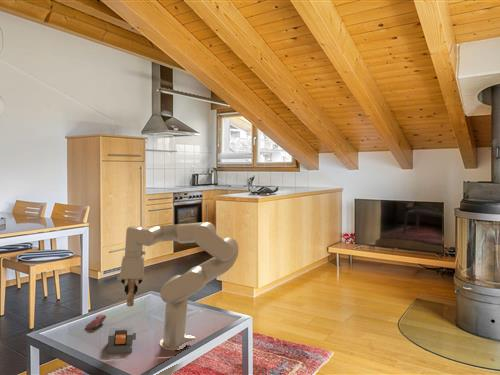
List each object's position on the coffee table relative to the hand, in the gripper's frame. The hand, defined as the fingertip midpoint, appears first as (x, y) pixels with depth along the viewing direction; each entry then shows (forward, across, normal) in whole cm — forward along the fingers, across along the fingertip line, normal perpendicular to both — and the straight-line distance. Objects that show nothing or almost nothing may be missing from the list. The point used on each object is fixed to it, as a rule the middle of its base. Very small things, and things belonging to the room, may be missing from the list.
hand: (130, 293), depth 179 cm
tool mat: (+21, 0, 0) cm, 21 cm away
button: (+18, +3, +10) cm, 21 cm away
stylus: (+6, 0, 0) cm, 6 cm away
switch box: (+21, +3, +10) cm, 23 cm away
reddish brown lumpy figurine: (+21, +15, -14) cm, 30 cm away
